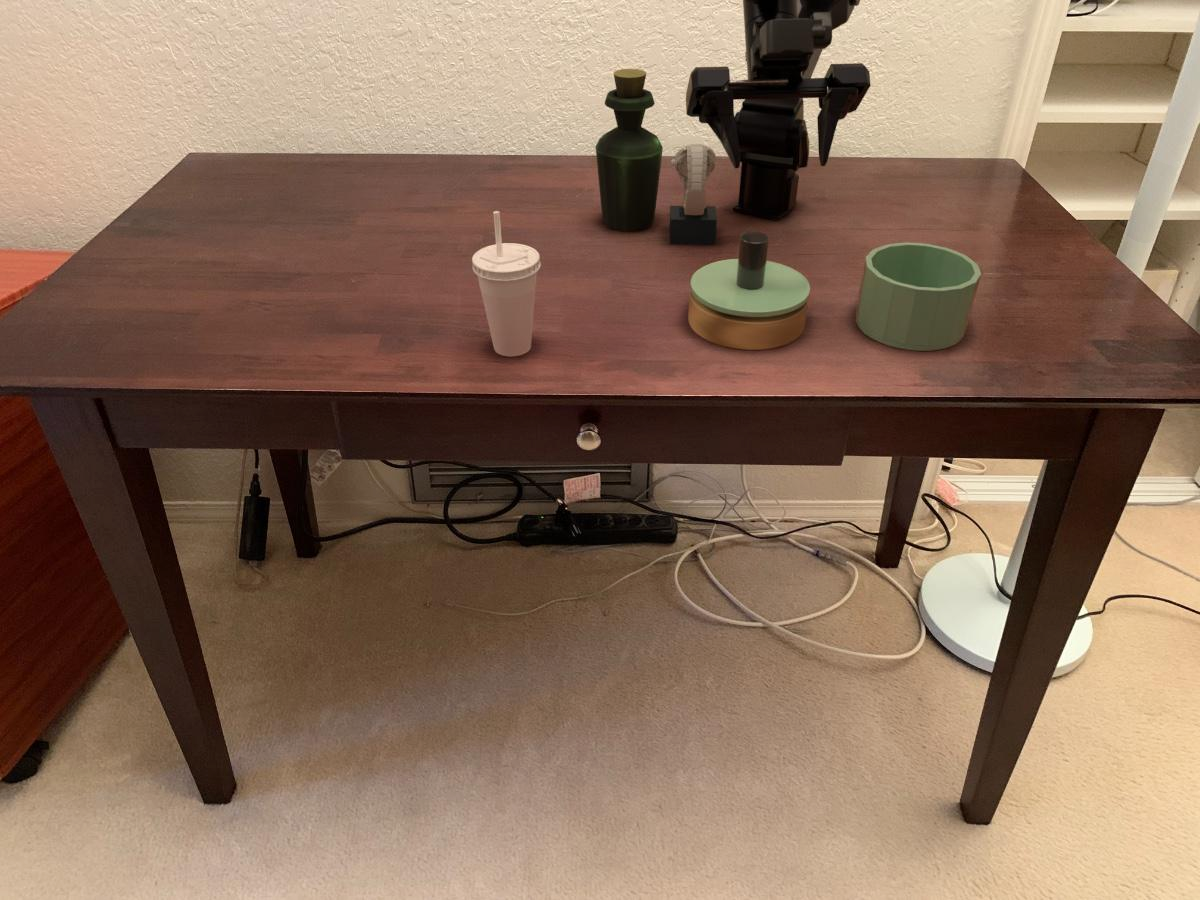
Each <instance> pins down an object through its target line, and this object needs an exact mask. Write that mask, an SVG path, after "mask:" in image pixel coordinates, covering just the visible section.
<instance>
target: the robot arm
mask: <svg viewBox="0 0 1200 900" xmlns="http://www.w3.org/2000/svg"><path fill="white" fill-rule="evenodd" d="M860 2H861V0H742V9H743V23H744V25H743V26H744V41H745V52H744V53H745V54H744V55H745V56H744V57H745V62H746V68H747V69H746V70H747V71H746V72H747V79H731V74H730V68H729V66H695V67H694V68H693V69H692V71H691V72H690V74H689V79H688V83H687V87H686V93H685V111H686V116H689V117H690V118H698V122H699V123H700V124H707V125H708V126H709V128H710V129H711V130H712V132H713V133H714V135H715V136H716V137H717V139H718V140H719V142H720V143H721V145H722V147H723V149H724V151H725V153H726V154H727V156H728V158H729V160H730V162H731V164H732V166H733V168H734V169H739V168H740V178H739V189H738V201H737V202H736V203H735V204H734V205H732V210H733V211H734V212H738V213H744V214H747V215H752V216H757V217H762V218H765V219H771V220H775V221H776V220H780V219H782V218H783V217H784V216H785V215H786V214H787V213H789V211H791V210H792V209H793V208H794V207H795V206H797V203H798V202H797V196H798V187H799V181H800V175H799V174H798V173H797V172H798V171H799V169H802V168H807V167H808V165H809V157H810V139H809V133H808V128H807V122H806V120H805V117H804V113H805V112H804V111H805V110H804V109H805V107H804V102H805V101H804V99H818V108H819V109H820V111H819V113H818V114H817V144H818V145H817V146H818V159H819V163H820V166H821V167H825V166H826V165H827V163H828V161H829V156H830V152H831V149H832V145H833V141H834V137H835V134H836V129H837V127H838V122H839V121H842V120H844V119H846V117H847V116H848V114H850V113H853V112H857V110H858V108H859V106H860V105H861V103H862V101H863V99H864V97H865V96H866V94H867V93H868V91H869V89H870V88H871V85H872V84H871V77H870V76H871V74H870V70H869V69H868V67H866V65H865V64H864V63H863V62H861V63H860V62H859V63H857V62H855V63H830V65H829V67H828V69H827V71H826V73H825V75H824V77H812V76H813V74H814V72H815V69H816V67H817V65H818V64H817V63H818V62H819V60H820V57H821V54H822V53H823V50H825V49H827V48H828V47H829V46H830V45H831V44H832V40H833V31H834V30H836V29H837V28H839V27H841V26H843V25H844V24H846V23H847V22H848V21H849V20H850V17H851V16H852V13H853V11H854V9H855V7H859V5H860ZM734 100H735V101H736V100H738V101H739V100H743V101H742V102H741V107H740V109H739V111H737V112H736V113H735V107H734V105H735V103H734ZM740 166H741V167H740Z"/></svg>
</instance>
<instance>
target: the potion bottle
mask: <svg viewBox="0 0 1200 900" xmlns="http://www.w3.org/2000/svg"><path fill="white" fill-rule="evenodd" d="M646 77H647V72H646V71H645V70H643V69H639V68H622V69H617V70H615V71H614V72H613V78H614V84H615V89H612V90H609V91H608V92H607V94H606V97H605V99H604V105H605V107H607V108H609V109H610V110H613V114H614V118H615V122H616V126H615V127H614V128H612V129H610V130H609V131H607V132H605V133H604V134H602V135H601V136H600V138H599V139H598V141H597V143H596V145H595V154H596V155H595V156H596V157H595V158H596V166H597V177H598V188H599V198H600V209H601V216H602V217H601V219H602V222H603V224H604V225H605V226H607V227H608V228H609V229H612V230H615V231H619V232H638V231H642V230H645V229H647V228H649V227H650V226H652V225H653V223H654V221H655V217H656V207H657V200H658V190H659V182H660V176H661V175H660V174H661V168H662V167H661V166H662V158H663V148H664V146H663V145H662V143H661V141H660V140H659V137H658V135H656V134H654V133H653V132H651V131H649V130H647V128H644V127H642V124H643V121H644V117H645V114H646V110H648V109H650V108H653V107H654V106H655V100H654V99H655V98H654V96H653V94H652V92H651V91H650V90H648V89H644V87H645V82H646Z"/></svg>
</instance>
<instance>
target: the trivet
mask: <svg viewBox="0 0 1200 900" xmlns="http://www.w3.org/2000/svg"><path fill="white" fill-rule="evenodd" d="M808 306H809V299H808V300H807V301H806V303H805V304H804V305H802V306H801V307H800V308H798V309H796V310H794V311H792V312H789V313H786V314H782V315H777V316H769V317H744V316H736V315H731V314H726V313H722V312H719V311H716V310H714V309H711V308H709V307H707V306H705V305H704V304H702V303H700V302H699V301H698V300H697V299H696V298H695V297H694V296H693V294H692V292H691V289H689V297H688V315H687V319H688V324H689V326H690V328H691V329H692V331H693V332H694V333H695V334H697V335H698V336H700V337H701V338H702V339H704V340H706V341H708V342H710V343H712V344H716V345H719V346H721V347H725V348H730V349H735V350H747V351H759V350H771V349H775V348H779V347H782V346H783V347H784V346H785V345H788V344H790V343H792V342H794V341H795V340H797V339H798V338H800V337H801V335H802V334H803V332H804V331H805V327H806V322H807V321H806V320H807V315H808V314H807V312H808Z"/></svg>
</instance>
